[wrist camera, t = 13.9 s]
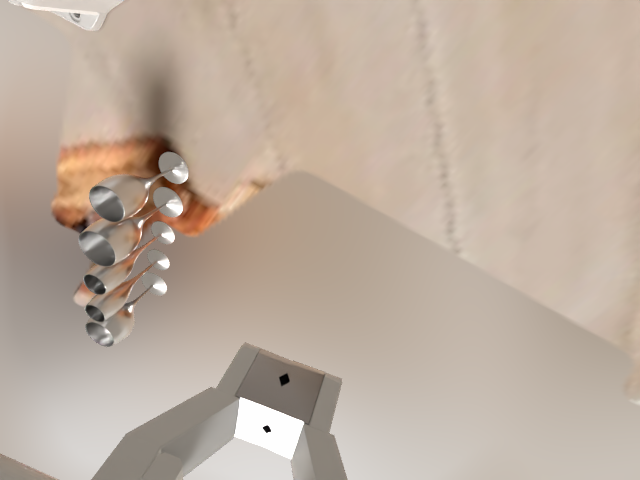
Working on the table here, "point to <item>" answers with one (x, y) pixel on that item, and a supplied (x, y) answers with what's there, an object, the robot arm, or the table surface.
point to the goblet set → (126, 246)
